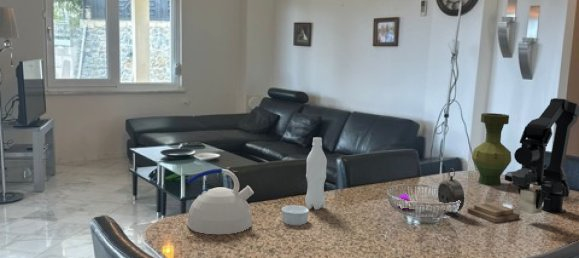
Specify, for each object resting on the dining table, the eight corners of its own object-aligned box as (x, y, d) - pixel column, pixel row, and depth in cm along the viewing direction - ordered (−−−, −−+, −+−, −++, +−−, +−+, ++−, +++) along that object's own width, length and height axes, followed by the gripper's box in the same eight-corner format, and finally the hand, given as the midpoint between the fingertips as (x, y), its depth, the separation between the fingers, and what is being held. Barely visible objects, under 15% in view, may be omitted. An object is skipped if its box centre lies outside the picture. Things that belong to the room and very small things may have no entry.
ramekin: (291, 216, 181) (291, 203, 181) (313, 221, 176) (314, 208, 176) (275, 222, 174) (276, 209, 173) (298, 228, 169) (298, 215, 168)
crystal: (393, 205, 197) (394, 193, 196) (407, 205, 198) (407, 193, 197) (400, 210, 192) (400, 197, 191) (413, 209, 193) (414, 196, 192)
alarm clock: (464, 218, 184) (467, 171, 182) (449, 218, 183) (453, 172, 181) (447, 208, 195) (450, 164, 192) (433, 209, 193) (436, 165, 191)
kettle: (253, 235, 161) (254, 176, 159) (182, 235, 160) (183, 175, 157) (253, 215, 181) (254, 162, 179) (190, 214, 180) (190, 161, 177)
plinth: (491, 209, 196) (492, 201, 195) (519, 218, 185) (520, 210, 185) (467, 212, 190) (468, 204, 190) (494, 222, 180) (495, 214, 179)
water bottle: (301, 209, 189) (304, 138, 186) (308, 203, 196) (311, 135, 192) (321, 211, 187) (324, 140, 183) (327, 206, 193) (330, 137, 190)
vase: (472, 186, 229) (478, 115, 225) (467, 177, 245) (472, 111, 240) (513, 188, 226) (520, 117, 222) (505, 180, 242) (510, 113, 238)
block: (528, 208, 185) (530, 188, 184) (541, 212, 180) (543, 191, 179) (518, 209, 182) (520, 189, 181) (531, 214, 178) (533, 193, 177)
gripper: (495, 157, 183) (491, 201, 185) (543, 168, 167) (538, 217, 169) (517, 155, 188) (513, 198, 191) (566, 165, 172) (561, 213, 174)
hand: (530, 206), depth 181 cm, fingers closed on block, 5 cm apart
